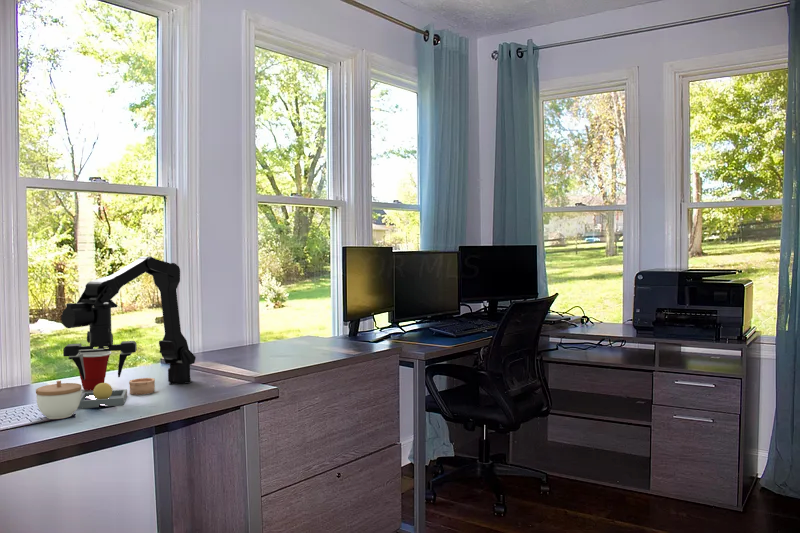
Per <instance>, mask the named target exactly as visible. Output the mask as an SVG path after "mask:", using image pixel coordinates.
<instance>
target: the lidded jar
mask: <svg viewBox="0 0 800 533" xmlns="http://www.w3.org/2000/svg"><path fill="white" fill-rule="evenodd" d="M82 388H83V387H82V383H81V384H80V383H77V382H64V383H63V382H62V381H61V380H57V381H56V383H53V384H48V385H42V386H40V387H39V386H38V387H37V388H36V389H35V394H36V397H35V398H36V405H37V407H38V410H39V412H40V413H41V414H42V415H43V416H45V417H46V419H49V420H60V419H66V418H69V417H70V418H71V417H72V416H73V414H74V413H75V412H76V411H77V410H78V409H77V408H78V407H79V404H80V401H81V395H82Z"/></svg>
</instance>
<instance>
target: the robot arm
mask: <svg viewBox="0 0 800 533" xmlns="http://www.w3.org/2000/svg"><path fill="white" fill-rule="evenodd" d="M143 274H147V275H150V276H152V279H153V283H154V285H155V286H156V287H157V289H158V290H159V295H160V301H161V312H162V320H163V329H164V335H163V338H162V340H159V341H158V345H159V353H160V354H161V357H162V358H163V360H164V363H165V365H167V364H168V365H169V367H168V368H167V377H168V378H167V379H168V380H167V382H168V383H169V385H181V384H191V382H192V381H191V380H192V379H191V378H192V377H191V365H193V364H195V361H196V358H197V357H196V355H194V353H193V352H191V350H190V347H189V345H188V341H187V338H185V336H184V334H183V333H182V329H181V328H182V327H181V322H180V319H181V318H180V310H179V303H178V294H177V289H178V286H179V284H180V282H181V269H180V266H179V265H177V263H175V262H167V261H163V260H160V259H157V258H155V257H152V256H139V257H138V258H137V259H136V260H134V261H132V262H131V263H129V264H128V265H126V266H124V267H122V268H120V269H119V270H116V272H114V273H112V274H110V275H108V276H103V277H98V278H96V279H93V280H90V281H88V282H87V283H86V284H85V288H84V291H83V292H82V294H81V296H79V299H78V301H76V303H73V302H72V303H71V302H70V303H65V305H66V307H65V308H64V309H63V311H62V314H61V315H60V316H61V317H60V318H61V323H62V325H63V326H64V327H65V328H67V329H73V328H74V329H75V328H83V327H89V330H88V331H87V333H86V342H87V343H88V344H89V345H82V343H68V344H67V345H65V346H64V347H63V354H62V355H63V357H65V358H66V357H68V360H72V361H73V362H74V364H75V366H76V367H77V370H78V372H80V373H79V375H80V374H81V376H82V378H83V380H85V369H84V362H83V354H81V353H85V352H103V351H111V352H117V351H118V352H119V351H120V353H119V357H118V368H117V378H120V377H121V375H122V370H123V368H124V364H125V362H126V359H127V357H131V356H132V354H133V353H136V351H137V347H138V345H137V342H136V341H135V340H127V341H126V340H125V341H124V340H123V341H121V343H120V344H119V343H118V344H114V334H113V332H112V309H113V308H115V309H116V308H118V307H119V306H118V304H117V303H115V302H114V301H113V300H112V299H113V298H114V297H116V295H118V294H119V292H120V290H121V288H123V287H124V286H125V285H127V284H128V283H130V282H132V281H133V280H135V279H137V278H138V277H139V276H142V275H143Z"/></svg>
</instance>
